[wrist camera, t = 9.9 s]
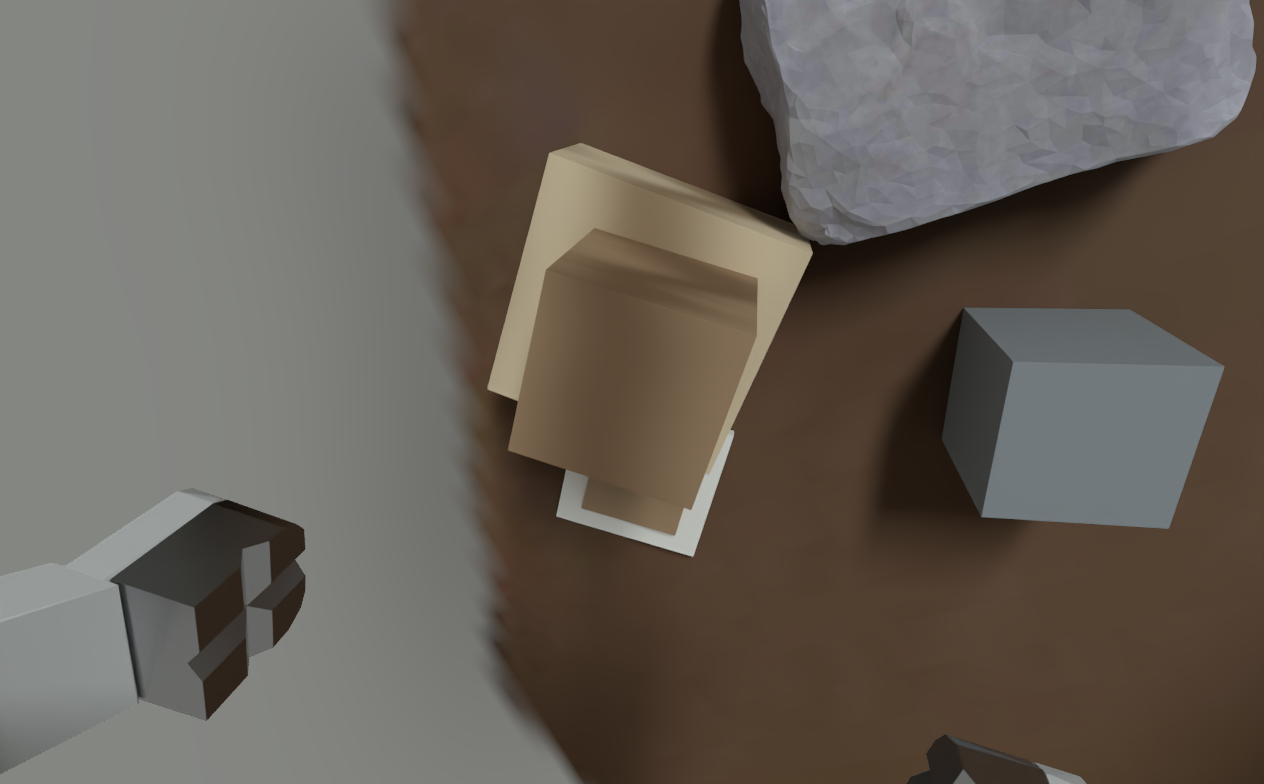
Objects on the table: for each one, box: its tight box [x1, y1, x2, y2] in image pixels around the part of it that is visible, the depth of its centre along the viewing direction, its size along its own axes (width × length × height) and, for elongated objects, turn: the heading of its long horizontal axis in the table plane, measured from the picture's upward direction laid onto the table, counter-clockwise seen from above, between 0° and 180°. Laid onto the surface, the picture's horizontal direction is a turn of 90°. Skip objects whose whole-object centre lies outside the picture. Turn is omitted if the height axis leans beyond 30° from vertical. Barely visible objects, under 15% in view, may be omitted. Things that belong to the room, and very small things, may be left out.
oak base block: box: [487, 143, 813, 475], centre depth 23 cm, size 8×8×4 cm
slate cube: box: [942, 308, 1224, 529], centre depth 21 cm, size 5×5×5 cm
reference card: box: [556, 430, 734, 557], centre depth 27 cm, size 6×6×1 cm
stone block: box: [739, 0, 1256, 245], centre depth 18 cm, size 12×5×10 cm
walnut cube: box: [508, 228, 758, 510], centre depth 19 cm, size 5×5×5 cm
